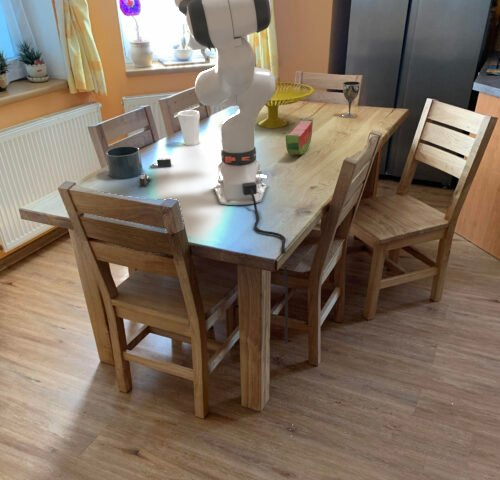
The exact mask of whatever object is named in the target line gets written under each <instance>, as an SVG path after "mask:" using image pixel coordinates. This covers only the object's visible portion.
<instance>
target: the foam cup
mask: <svg viewBox="0 0 500 480" xmlns="http://www.w3.org/2000/svg"><path fill="white" fill-rule="evenodd" d="M177 119H178V122H179V126H180V131H181V134H182V138H183V143H184V146H188V147H189V146H196V145H198V144H199V143H200V119H201V116H200V111H199V110H195V109H187V110H182V111H179V112H177Z"/></svg>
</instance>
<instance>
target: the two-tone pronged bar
mask: <svg viewBox="0 0 500 480" xmlns="http://www.w3.org/2000/svg"><path fill="white" fill-rule="evenodd" d="M171 160H172V159H171V157H163V158H157V159H156V162H155V163H151V164H150V169H158V168H171V167H172V161H171Z"/></svg>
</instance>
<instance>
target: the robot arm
mask: <svg viewBox="0 0 500 480" xmlns="http://www.w3.org/2000/svg"><path fill="white" fill-rule="evenodd" d="M174 5H175V7H176V8H177V11H178V12H179V14H181V15H183V16H185V19H186V20H185V21H186V31H187V33H188V35H189V36H188V37H189V48H190V49H191V50H193V51H194V50H195V51H197V50H200V54H201V55H202V57H203V58H204V62H205V64H207V63H211V61H210V55H207V54H206V50H207V51H208V52H212V49H214V50H215V51H216V63H215V64H216V65H215V66H214V67H212V68H209V69H207V70H204V71H201V72H200V73H199V74H198V75H197V77H196V79H195V82H194V92H195V95H196V98H197V100H198V101H199V102H200V104H201V105H202V106H208V107H216V108H221V107H222V108H223V107H238V109H237V111H236V112H235V114H232V115H231V116H229V117H228V118H226V119H225V120H224V121H223V123H222V124H221V127H220V135H221V150H220V157H221V162H220V163H219V165H218V167H217V168H218V180H217V182H218V184H217V185H214V187H213V190H214V192H215V195H216V197H217V199H218V202H219V204H221V205H224V206H225V205H226V206H245V205H246V206H247V205H253V209H254V212H255V216H256V220H255V222H254V225H253V228H254V230H255V231H256V232H258V233H261V234H266V235H272V236H277V237H279V238H281V239H282V242H281V252H282V254H286V241H287V239H286V237H285V236H284V235H283V234H282V233H278V232H275V231H268V230H263V229H260V228H259V227H257V226H258V224H259V222H260V214H259V210H258V206H257V204H258V203H261V202H262V200H263V197H264V195H265V193H266V190H267V183H265V182H263V178H264V179H267V175H265V174H262V169H261V163H260V162H259V161H258V160H257V149H256V146H255V131H256V129H255V128H256V122H257V119H258V116H259V114H260V112H261V111H262V109H263V108H264V107H266V106H265V104H266V103H268V102H269V101H270V100H271V99H272V97H273V95H274V93H275V92H276V91H275V88H276V89H277V84H276V83H277V82H276V78H275V76H274V74H273V72H272V71H271V70H270V69H269V68H265V67H259V66H256V56H255V52H254V49H253V47H252V44H251V43H250V42H249V41H248V36H249V35H252V34H254V33H256V34H258V33H261V32H264V31H266V30H267V29H268V28H269V27H270V24H271V21H272V15H273V5H272V2H271V0H174ZM283 271H284V272H283V273H284V300H285V301H284V306H285V307H284V311H285V312H284V344H286V345H287V344H289V343H288V339H289V338H288V333H289V331H288V330H289V282H288V266H284V267H283Z"/></svg>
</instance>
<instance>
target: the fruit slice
mask: <svg viewBox="0 0 500 480" xmlns="http://www.w3.org/2000/svg"><path fill="white" fill-rule="evenodd" d="M313 122H314V118H309V117H307V118H305V117H303V118H300V121H299V123H298V124H297V125H296V126H295V127H294V128H293V129H292V131H290V132H289V134H288V133H286V134H285V144H286V145H285V147H286V151H287V154H288V155H298V156H299V155H304V154H305V153H306V151H307V150H308V148H309V146H310V144H311V141H312V137H313V126H314V125H313V124H314V123H313Z"/></svg>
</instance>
